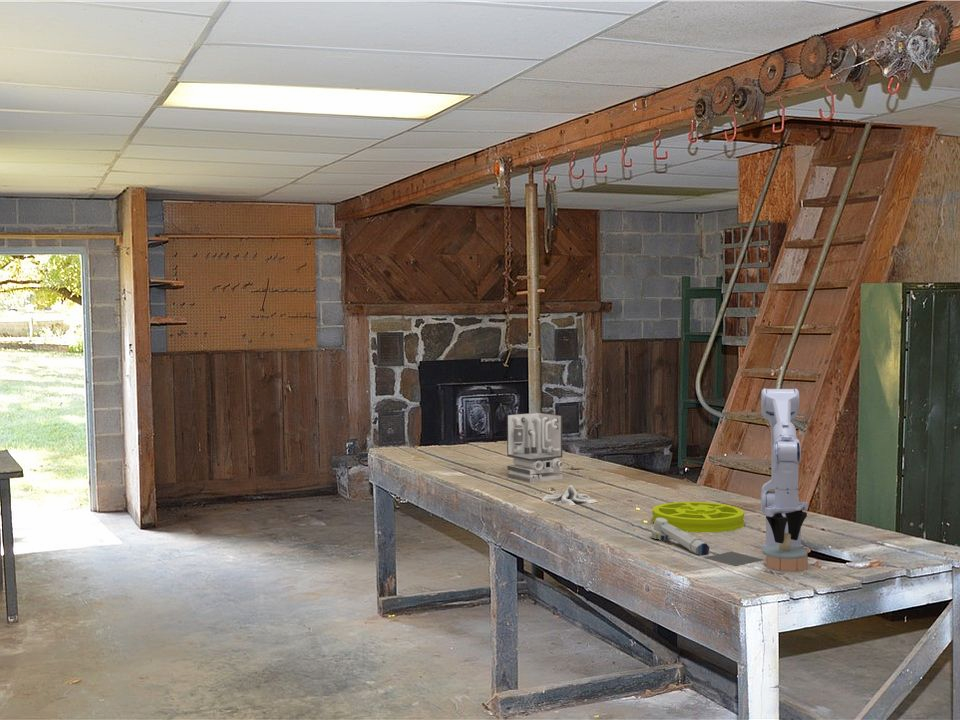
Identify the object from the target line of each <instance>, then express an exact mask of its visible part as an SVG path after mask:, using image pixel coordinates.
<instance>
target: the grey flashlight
mask: <svg viewBox="0 0 960 720" xmlns="http://www.w3.org/2000/svg"><path fill="white" fill-rule="evenodd" d="M650 532H651V539H652V538H654V539H659V540H667V539H670V538H671V539H672V540H673V541H675V542H677V543H678V544H679V545H681V546H683V547H684V548H686V549H687V550H688V551H689V552H690V553H693V554H695V555H697V556H705V555H709V553H710V548H711V547H710V546H709V544H707V543H706V542H704V541H703V540H702V538H700V537H697V536H696V537H695V536H694V535H692V534H691V533H689V532H685V531H682V530H680V529H678V528H676V527H674V526H672V525H670V524H668V522H667V520H666V519H664V518H656V519H655V522H654V523H653V526H651V527H650ZM654 539H653V540H654ZM659 540H658V541H659ZM667 541H668V540H667Z"/></svg>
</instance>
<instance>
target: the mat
mask: <svg viewBox="0 0 960 720" xmlns="http://www.w3.org/2000/svg"><path fill="white" fill-rule="evenodd" d="M703 559H706V560H709V561H710V560H711V561H715V562H718V563H722V564H726V565H729V566H733V567H738V566H742V565H746V564H752V563H757V562H760V561H764V559H763V558H758V557H755V556H751V555H748V554H747V555H746V554H743V553H739V552H735V551H728V552H723V553H718V554H712V555H709V556H704V557H703Z"/></svg>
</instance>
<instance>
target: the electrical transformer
mask: <svg viewBox="0 0 960 720" xmlns="http://www.w3.org/2000/svg"><path fill="white" fill-rule="evenodd" d="M506 438H507V439H506V443H507V444H506V446H507V447H506V448H507V449H506V453H507V454H506V457H510V458H513V459H512V463H513V464H509V465H507V470H508V471H509V472H508V473H507V478H508V479H514V480H517V481H522V482H525V483H529V484H530V483H539V482H547V481H555V480H556V481H557V480H563V474H560V473H555V472H563V462H562V461H561V460H560V458H563V415H558V414H551V413H545V412H544V413H543V412H533V413H532V412H531V413H530V412H529V413H518V414H516V413H515V414H507V415H506Z"/></svg>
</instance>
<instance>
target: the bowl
mask: <svg viewBox="0 0 960 720" xmlns="http://www.w3.org/2000/svg"><path fill="white" fill-rule="evenodd" d="M808 558H809V557H808V555H807V556H806V557H804V558H799V559H782V558H774V557H770V556H767V555H764V563H765V567H766V568H767V569H771V570H774V571H778V572H779V571H780V572H800V571H805V570H808V569H809V568H808V566H809V565H808V562H809V561H808V560H809V559H808Z"/></svg>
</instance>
